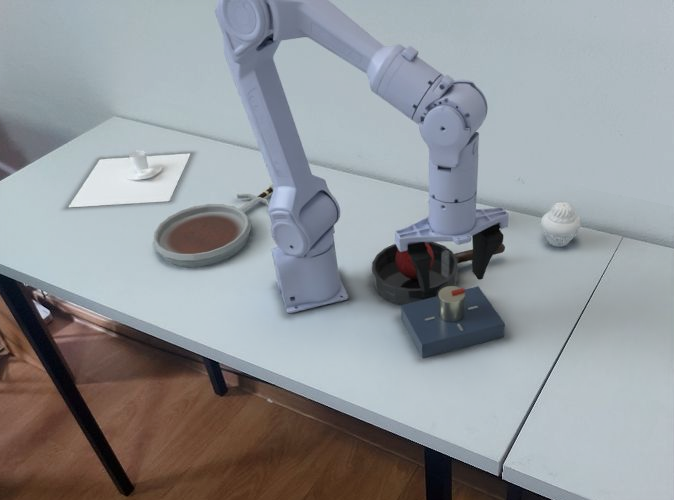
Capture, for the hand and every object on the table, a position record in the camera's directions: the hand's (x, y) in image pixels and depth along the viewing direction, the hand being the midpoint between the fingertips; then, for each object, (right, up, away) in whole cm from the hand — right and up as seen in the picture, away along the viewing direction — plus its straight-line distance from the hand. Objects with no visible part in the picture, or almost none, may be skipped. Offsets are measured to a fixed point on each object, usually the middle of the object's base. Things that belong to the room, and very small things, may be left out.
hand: (451, 281), depth 88 cm
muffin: (+20, +8, +19) cm, 29 cm away
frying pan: (-37, +13, +30) cm, 49 cm away
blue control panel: (+1, -6, +5) cm, 8 cm away
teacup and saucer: (-59, +26, +46) cm, 79 cm away
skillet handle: (+6, +5, +15) cm, 17 cm away
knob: (+1, -4, +4) cm, 5 cm away
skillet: (-4, +2, +14) cm, 15 cm away
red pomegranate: (-4, +2, +14) cm, 15 cm away
